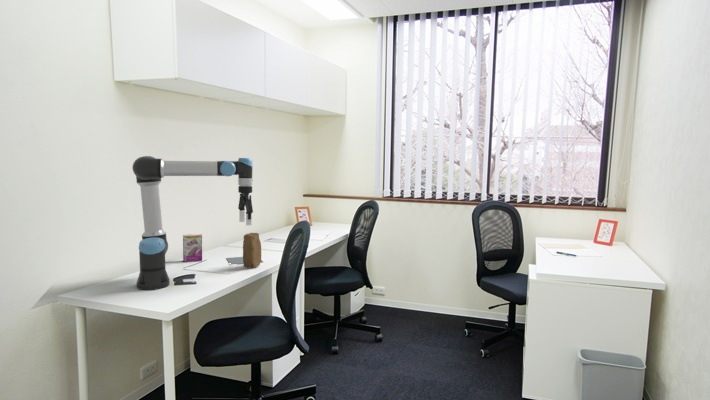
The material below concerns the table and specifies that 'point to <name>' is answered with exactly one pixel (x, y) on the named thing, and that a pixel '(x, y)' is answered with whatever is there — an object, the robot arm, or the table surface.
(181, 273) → the table surface
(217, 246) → the table surface
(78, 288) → the table surface
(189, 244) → the candy bar box
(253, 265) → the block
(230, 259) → the mat
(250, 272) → the table surface
